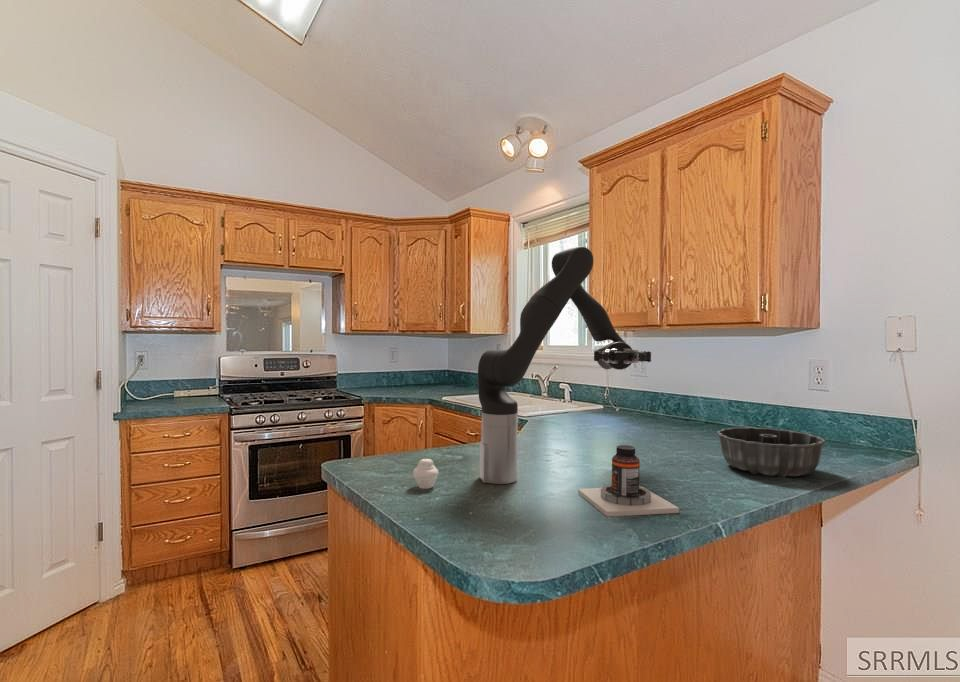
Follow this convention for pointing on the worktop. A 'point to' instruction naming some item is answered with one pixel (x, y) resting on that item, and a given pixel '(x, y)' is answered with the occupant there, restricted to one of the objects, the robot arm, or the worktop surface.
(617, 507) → the board
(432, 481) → the white lidded jar
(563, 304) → the robot arm
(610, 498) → the collar
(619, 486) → the supplement bottle
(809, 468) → the bundt pan
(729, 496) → the worktop surface
